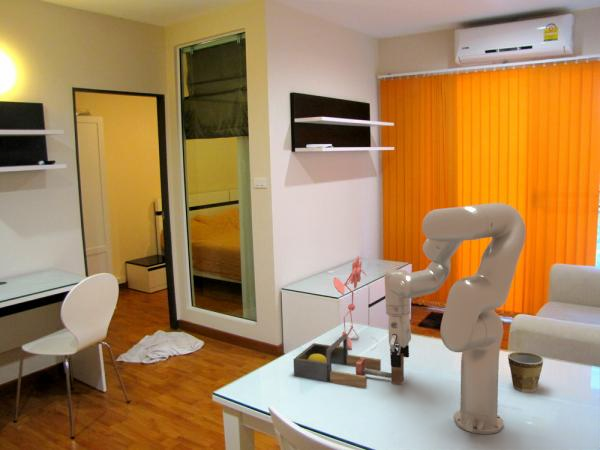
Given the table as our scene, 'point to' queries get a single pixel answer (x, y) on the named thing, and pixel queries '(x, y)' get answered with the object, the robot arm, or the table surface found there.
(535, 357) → the ceramic cup
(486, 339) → the robot arm
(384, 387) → the table surface
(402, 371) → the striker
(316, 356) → the lemon
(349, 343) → the figurine
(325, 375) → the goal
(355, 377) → the lane
